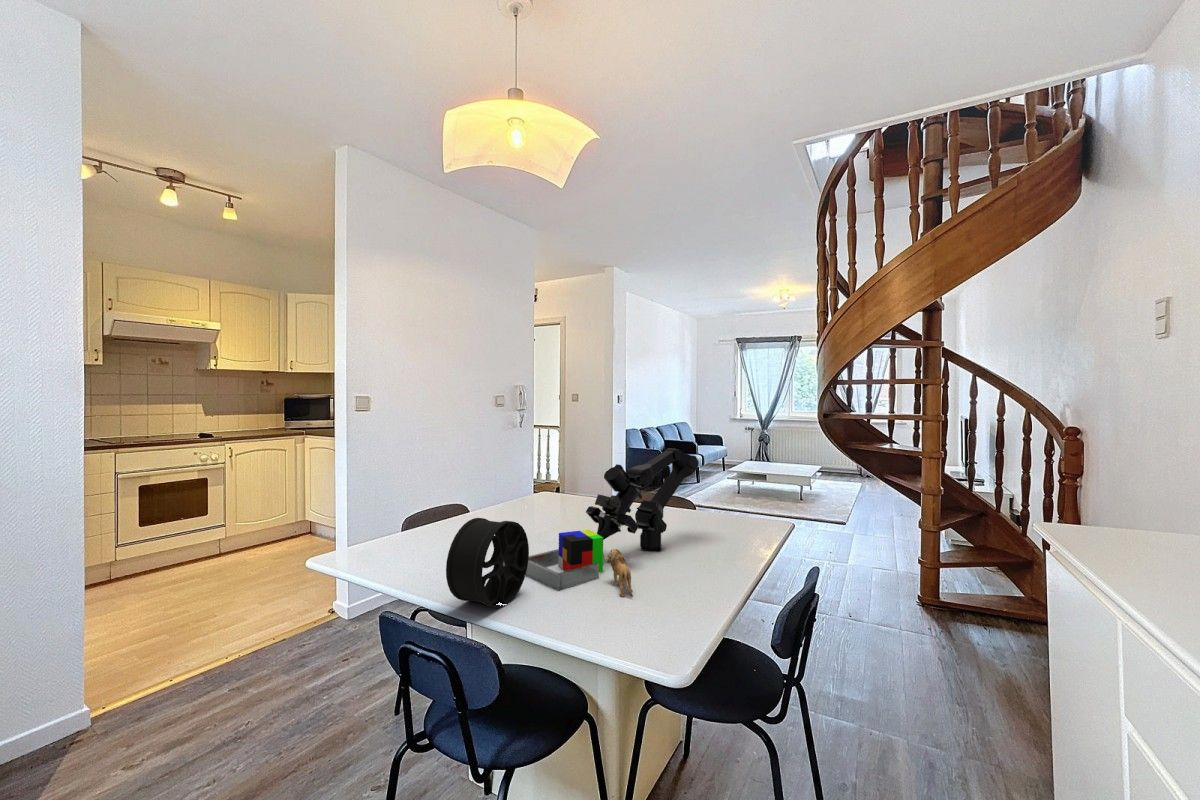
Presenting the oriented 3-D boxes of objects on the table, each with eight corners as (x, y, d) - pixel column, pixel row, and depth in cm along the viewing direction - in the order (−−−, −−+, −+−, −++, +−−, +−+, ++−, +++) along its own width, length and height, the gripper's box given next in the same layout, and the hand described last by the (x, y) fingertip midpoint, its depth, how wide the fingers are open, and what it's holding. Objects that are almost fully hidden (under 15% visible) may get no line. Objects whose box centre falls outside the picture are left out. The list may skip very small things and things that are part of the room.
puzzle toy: (558, 566, 150) (558, 532, 150) (589, 561, 155) (589, 529, 155) (570, 577, 141) (571, 541, 141) (603, 572, 146) (603, 537, 146)
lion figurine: (602, 580, 139) (603, 547, 139) (620, 578, 141) (620, 546, 141) (623, 600, 125) (623, 564, 125) (642, 597, 127) (643, 562, 127)
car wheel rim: (481, 621, 113) (481, 532, 113) (445, 613, 117) (445, 527, 117) (528, 590, 131) (529, 513, 131) (496, 584, 135) (496, 510, 135)
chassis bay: (558, 561, 154) (558, 548, 154) (598, 578, 141) (598, 563, 141) (519, 572, 145) (519, 558, 145) (558, 590, 131) (558, 575, 131)
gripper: (590, 481, 163) (563, 520, 155) (631, 488, 149) (603, 532, 141) (608, 502, 168) (582, 541, 161) (649, 511, 154) (623, 554, 147)
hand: (596, 541), depth 152 cm, fingers closed
